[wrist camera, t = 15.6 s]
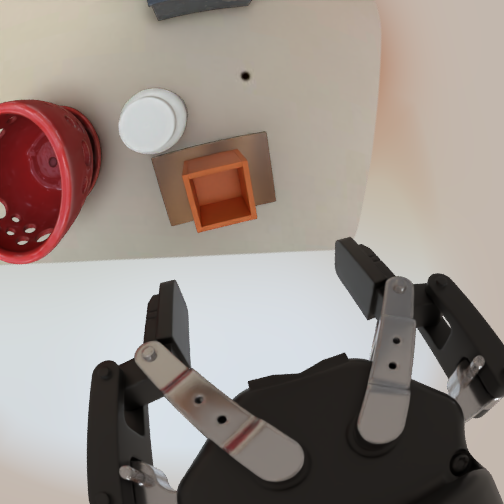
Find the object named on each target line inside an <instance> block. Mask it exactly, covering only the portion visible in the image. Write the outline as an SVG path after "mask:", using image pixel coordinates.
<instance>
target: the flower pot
mask: <svg viewBox="0 0 504 504" xmlns="http://www.w3.org/2000/svg"><path fill="white" fill-rule="evenodd" d="M11 117H12V118H11ZM0 129H3V130H2V131H1V133H0V202H1V203H2V204H3V205H4V206H5V209H6V216H5V217H4V218H1V219H0V260H2V261H5V262H8V263H13V264H28V263H32V262H35V261H38V260H40V259H41V258H43V257H45V256H46V255H47V254H49V253H50V252H51V251H52V250H53V249H54V248H55V247H56V246H57V244H58V243H59V242H60V241H61V239H62V238H63V237H64V235H65V234H66V233H67V231H68V230H69V228H70V227H71V225H72V224H73V222H74V221H75V219H76V217H77V216H78V214H79V212H80V210H81V208H82V206H83V204H84V202H85V199H86V197H87V196H88V195H89V193H90V192H91V190H92V189H93V187H94V185H95V183H96V180H97V178H98V174H99V170H100V164H101V149H100V143H99V139H98V136H97V133H96V131H95V129H94V127H93V126H92V124H91V123H90V121H89V120H88V119H87V118H86V117H85V116H84V115H83V114H82V113H81V112H79V111H77V110H76V109H73V108H71V107H67V106H59V105H56V104H53V103H49V102H45V101H40V100H15V101H9V102H4V103H1V104H0ZM13 217H16V218H18V219H19V220H20V221H19V222H14V221H12V218H13ZM28 228H35V231H34V232H32V233H26V232H25V230H26V229H28ZM8 231H11V232H14V235H8V234H7V232H8ZM49 233H51V234H50V236H49V237H48V238H47V239H46V240H44V241H42V242H37V240H38V239H39V238H40V237H42V236H44V235H46V234H49ZM20 241H28V242H27V243H26V244H24V245H19V244H17V243H18V242H20Z"/></svg>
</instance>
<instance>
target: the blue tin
mask: <svg viewBox="0 0 504 504" xmlns="http://www.w3.org/2000/svg"><path fill="white" fill-rule="evenodd" d="M147 2H148V7H150V6H152V8H153V10H154V12H155V15H156V17H157V19H158V21H160V20H163V19H167V18H172V17H176V16H180V15H185V14H190V13H195V12H201V11H207V10H213V9H221V8H229V7H238V6H248V5H249V3H250V2H251V0H147Z"/></svg>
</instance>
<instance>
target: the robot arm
mask: <svg viewBox="0 0 504 504" xmlns="http://www.w3.org/2000/svg"><path fill="white" fill-rule="evenodd" d="M335 269H336V273H337V275H338V277H339V279H340V280H341V281H342V283H343V284H344V286H345V287H346V289H347V290H348V292H349V293H350V295H351V296H352V297H353V299H354V301H355V302H356V304H357V305H358V306H359V308H360V309H361V311H362V313H363V314H364V315H365V317H366V318H367V320H370V319H372V318H376V319H377V324H376V330H375V335H374V340H373V345H372V349H371V354H370V358H369V360H365V359H358V358H353V359H352V358H351V359H348V357H347V356H346V354H345V353H342V354H339V355H336V356H333V357H331V358H328V359H325V360H322V361H320V362H319V363H317V364H315V365H314V366H312V367H310V368H309V369H307V370H305V371H303V372H301V373H298V374H284V375H271V376H267V377H263V378H259V379H255V380H251V381H248V384H249V388H248V389H246V390H244V391H243V392H241V393H239V394H238V395H237V396H236V397H235V398H234V399H233V400H232V399H230V398H229V397H228V396H226V395H225V394H224V393H223V392H221V391H220V390H219V389H217V388H216V387H215V386H214V385H212V384H211V383H210V382H208V381H207V380H206V379H205V378H204V377H202V376H201V375H200V374H199V373H198V372H197V371H195V370H194V369H193V368H191V362H190V344H189V321H188V310H187V306H186V303H185V301H184V298H183V296H182V293H181V291H180V288H179V286H178V284H177V282H176V280H171V281H167V282H163V283H160V288H159V294H157V295H153V296H152V298H151V299H150V301H149V303H148V307H147V315H146V324H145V332H144V333H145V334H144V342H143V344H142V345H141V346H140V347H139V348H138V349H137V351H136V353H135V356H134V358H133V359H131V360H129V361H127V362H125V363H123V364H120V365H117V364H116V363H115V362H114V361H110V360H108V361H104V362H102V363H100V364H98V365H97V367H96V368H95V369H94V371H93V374H92V381H91V390H90V400H89V412H88V430H87V431H88V432H87V479H88V496H89V502H90V504H503V502H502V499H501V496H500V494H499V492H498V489H497V487H496V485H495V482H494V480H493V478H492V476H491V474H490V473H489V471H487V470H486V469H485V468H484V467H483V466H482V465H481V464H479V463H478V462H477V461H476V460H475V459H474V458H473V457H472V455H471V454H470V453H469V451H468V449H467V445H466V440H465V431H464V424H465V423H466V422H468V421H469V420H470V419H472V418H480V417H482V416H483V415H484V414H485V413H486V412H488V411H489V410H490V409H491V408H492V407H493V406H494V405H495V404H497V403H498V402H499V400H501V399H502V398H503V397H504V345H503V343H502V342H501V340H500V339H499V338H498V336H497V335H496V334H495V332H494V331H493V330H492V328H491V327H490V326H489V324H488V323H487V322H486V320H485V319H484V318H483V317H482V315H481V314H480V313H479V312H478V310H477V309H476V308H475V307H474V306H473V304H472V303H471V302H470V300H469V299H468V298H467V297H466V296H465V295H464V294H463V292H462V291H461V290H460V289H459V288H458V287H457V285H456V284H455V283H454V282H453V281H452V280H451V279H450V278H449V277H448V276H446V275H444V274H438V273H437V274H433V275H431V276H430V277H429V279H428V282H427V283H425V284H413V283H412V282H411V281H410V280H408V279H407V278H404V277H399V276H395V275H394V274H393V273H392V272H391V271H390V269H389V268H388V267H387V266H386V265H385V264H384V263H383V262H382V261H380V259H379V258H378V256H376V254H375V253H374V252H373V251H372V250H371V249H370V248H368V247H366V246H364V245H362V244H360V245H358V244H357V243H356V242H355V241H354V240H353V239H352V238H351V237H348V238H344V239H340V240H337V241H336V243H335ZM442 316H444V317H445V318H446V320H447V321H448V322H449V324H450V326H451V328H450V327H449V326H448V325H447V323H446V322H445V320H444V319H443V317H442ZM416 328H418V330H419V331H420V333H421V334H422V336H423V338H424V339H425V341H426V342H427V344H428V346H429V347H430V349H431V350H432V352H433V354H434V355H435V357H436V359H437V360H438V362H439V364H440V365H441V367H442V369H443V370H444V372H445V374H446V375H447V377H448V382H447V389H448V394H445V393H443V392H440V391H438V390H436V389H433V388H431V387H429V386H426V385H424V384H422V383H419V382H417V381H415V380H412V379H411V375H412V366H413V358H414V348H415V335H416ZM189 368H190V369H189ZM161 397H165V398H166V399H167V400H168V401H169V402H170V403H171V404H172V405H173V406H174V407H175V408H176V409H177V410H178V411H179V412H180V413H181V414H182V415H183V416H184V417H185V418H186V419H187V420H188V421H189V422H190V423H191V424H192V425H194V426H195V427H196V428H197V429H198V430H199V431H200V432H201V433H202V434H203V435H204V436H205V437H206V438H208V439H207V441H206V442H205V444H204V445H203V447H202V449H201V450H200V452H199V454H198V455H197V457H196V458H195V460H194V461H193V463H192V465H191V467H190V468H189V469H188V471H187V472H186V474H185V476H184V477H183V479H182V480H181V482H180V484H179V486H178V489H177V491H175V490H174V489H172V488H171V486H170V485H169V483H168V480H167V477H166V475H165V474H164V473H163V472H162V471H161V470H159V469H157V468H155V467H153V459H152V450H151V440H150V429H149V415H148V404H149V403H151V402H153V401H155V400H157V399H160V398H161Z"/></svg>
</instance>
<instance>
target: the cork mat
mask: <svg viewBox="0 0 504 504" xmlns="http://www.w3.org/2000/svg"><path fill="white" fill-rule="evenodd" d="M234 149H238V150H239V151H240V152H241V154H242V155H243V156H244V157H245V158H246V159H247V161H248V166H249V172H250V178H251V184H252V190H253V196H254V202H255V206H257V205H261V204H265V203H270V202H275V201H276V197H275V190H274V182H273V175H272V168H271V160H270V153H269V147H268V140H267V133H266V132H259V133H253V134H248V135H243V136H237V137H232V138H228V139H223V140H218V141H214V142H209V143H205V144H201V145H197V146H193V147H189V148H185V149H181V150H177V151H173V152H170V153H166V154H163V155H159V156H156V157H152V163H153V167H154V170H155V174H156V177H157V180H158V184H159V187H160V191H161V194H162V197H163V200H164V204H165V207H166V210H167V213H168V216H169V220H170V223H171V226H175V225H178V224H182V223H186V222H190V221H194V218H193V215H192V211H191V208H190V204H189V201H188V197H187V193H186V189H185V186H184V182H183V178H182V172H183V164H184V161H186V160H190V159H194V158H198V157H202V156H207V155H211V154H215V153H220V152H224V151H229V150H234Z"/></svg>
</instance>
